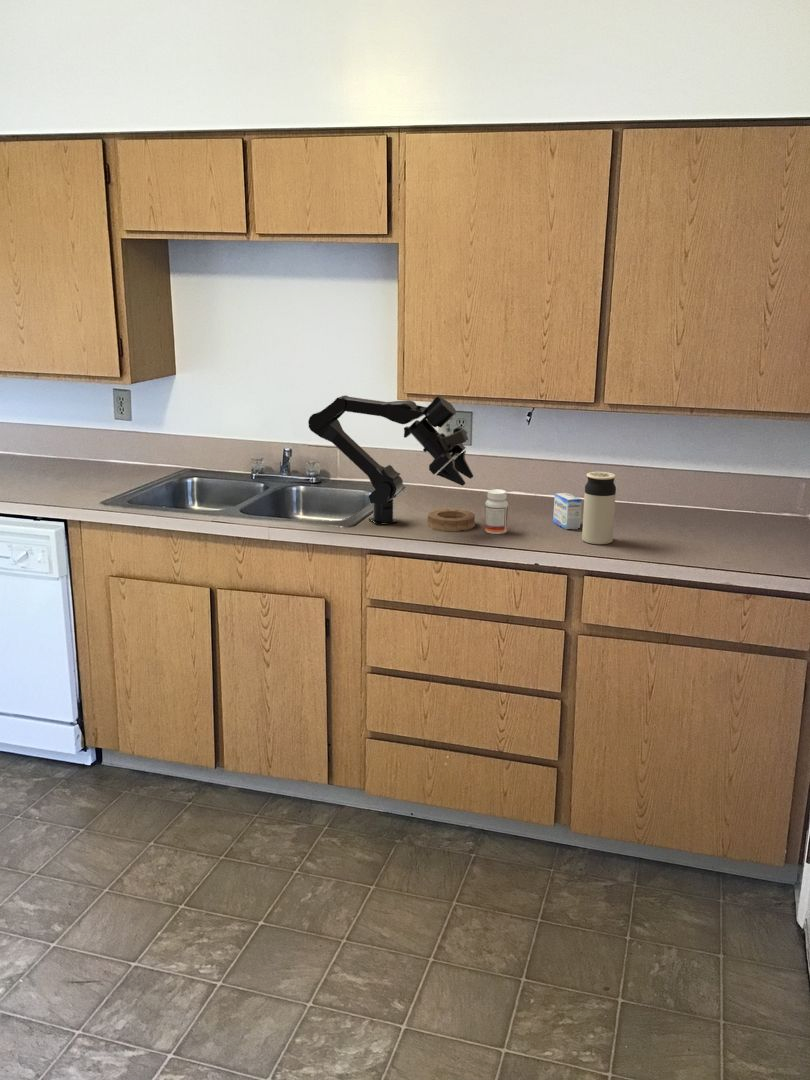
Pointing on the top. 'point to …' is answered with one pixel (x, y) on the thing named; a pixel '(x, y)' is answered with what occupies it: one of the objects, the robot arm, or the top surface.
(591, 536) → the travel mug
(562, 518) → the medicine box
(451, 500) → the top surface
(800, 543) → the top surface
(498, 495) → the pill bottle
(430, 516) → the walnut ring
